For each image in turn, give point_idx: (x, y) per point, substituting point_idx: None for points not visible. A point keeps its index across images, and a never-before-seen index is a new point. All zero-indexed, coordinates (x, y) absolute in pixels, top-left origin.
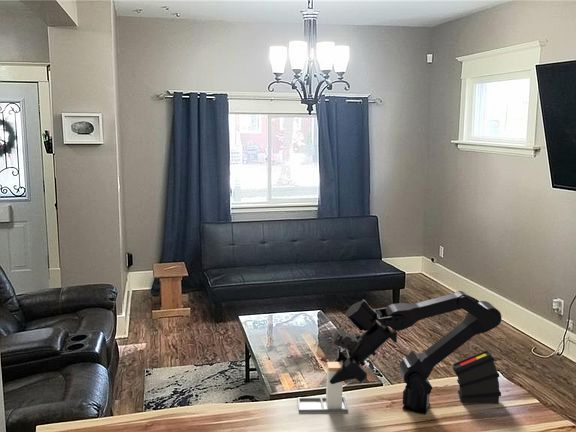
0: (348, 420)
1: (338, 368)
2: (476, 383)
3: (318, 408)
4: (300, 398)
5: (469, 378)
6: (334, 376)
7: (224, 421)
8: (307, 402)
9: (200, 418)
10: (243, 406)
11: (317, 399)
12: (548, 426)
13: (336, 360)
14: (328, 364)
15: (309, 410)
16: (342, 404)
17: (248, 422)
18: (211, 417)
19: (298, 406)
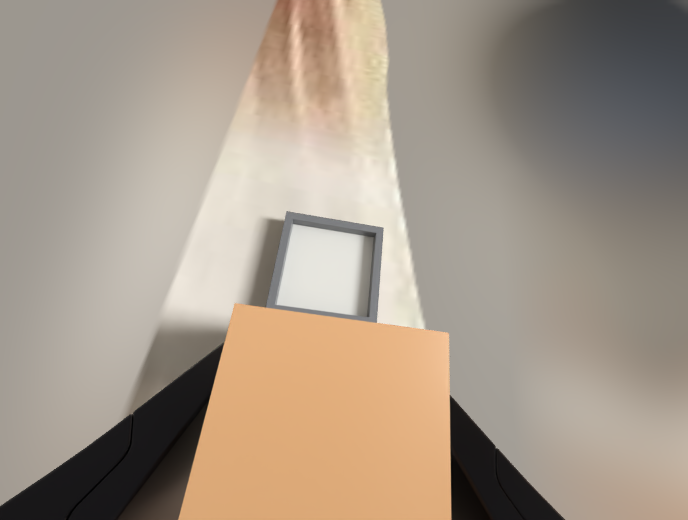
0: None
1: (188, 483)
2: None
3: (303, 295)
4: (375, 237)
5: None
6: (185, 374)
7: (295, 39)
8: (358, 264)
9: (320, 4)
10: (368, 90)
11: (369, 305)
12: None
13: (505, 513)
14: (356, 328)
15: (278, 250)
16: None
17: (275, 83)
18: (321, 21)
19: (315, 217)
